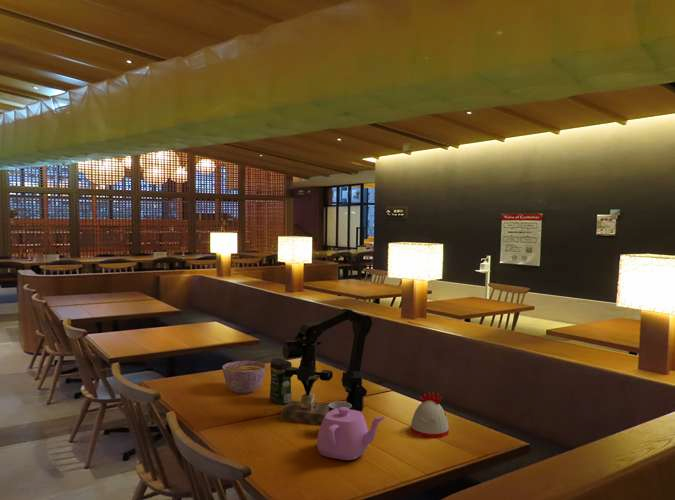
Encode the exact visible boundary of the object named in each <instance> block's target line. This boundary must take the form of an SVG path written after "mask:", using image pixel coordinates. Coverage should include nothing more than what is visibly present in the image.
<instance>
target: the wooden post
mask: <svg viewBox="0 0 675 500" xmlns="http://www.w3.org/2000/svg"><path fill="white" fill-rule="evenodd" d="M315 396H316V395H315V393H310V394H309V395H306V392H304V393H303V394H301V396H300V399H301V401H300V402H301V409H303V410H313V409H314V406H315V405H314V403H315V399H316V398H315Z"/></svg>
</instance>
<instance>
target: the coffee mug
mask: <svg viewBox="0 0 675 500" xmlns="http://www.w3.org/2000/svg"><path fill="white" fill-rule="evenodd" d="M328 404H329V405H328V406H329V412H330V411H331V410H334V409H337V408H340V407H347V408H349V409H350V410H353V406H352V405H351V404H350V403H347V402H346V401H331V402H329V403H328Z"/></svg>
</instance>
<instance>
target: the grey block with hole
mask: <svg viewBox="0 0 675 500" xmlns="http://www.w3.org/2000/svg"><path fill="white" fill-rule="evenodd" d="M329 404H330V403H328V404H327V403H319V402H314V405H315V406H314V409H313V410H303V409H301V401H298V400H291V401H290V402H289V403H287V404H285V406H284V407H282V409H281V410H280V420H281V421H284V422H285V421H286V422H293V423H294V422H295V423H303V424H304V423H305V424H309V425H310V424H312V425H320V426H321V424H322V422H323V419H324V417H325V415H326V414H327V413H328V412H329V406H328V405H329Z"/></svg>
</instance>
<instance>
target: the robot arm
mask: <svg viewBox="0 0 675 500" xmlns="http://www.w3.org/2000/svg"><path fill="white" fill-rule="evenodd" d="M346 321H349V322H351V323H352V325H351V327H352V331H353V339H352V345H351V352H350V358H349V365H348V369H347V370H346V371H343V372H342V377H341V386H342V387H343V389H344V390H345V392H346V393H347V396H346V401H345V402H347V403H350V404H351V405H352V406H353V410H356V411H360V412H362V411H363V410H364V408H365V404H364V398H365V397H366V396H367V393H368V390H367V389H366V388H365V387H364V386H363V377H362V373H361V368H362V361H363V356H364V350H365V344H366V337H367V335H368V334H369V333H370V331H371V329H372V326H373V319H372V317H370V315H366V314H364V313H363V314H362V313H358V312H356V311H354V310H352V309H349V308H343V309H341V310H339V311H337V312H335V313H332V314H331V315H329V316H327V317H324V318H322V319H320V320H317V321H310V322H306V323H303V324H301V326H300V328H299V331H298V333H297V334H296V336H295V337H294V339H293V340H285V341H284V344H283V347H282V349H281V352H282V357H283V359H284V360H289V359H296V358H297V359H298V358H300V357H301V359H300V360H299V361H300V362H299V366H298V367H297V366H296V367H294V366H292V367H288V368H287V369H286V370H285V371H284V377H291V378H292V377H293V376H296V378H297V381H300V382H301V384H302V386H303V389H304V391H305V392H304V393H306V395H309V394H311V391H312V389H313V387H314V384H315V382H317V381H318V380H321V381H325V382H329V381H331V379H333V375H334V373H333V371H332V370H330V369H329V370H328V369H322V370H321V371H317V365H316V364H317V345H322V342H321V341H320V340H319V339H318V338H319V337H321V336H322V335H323V333H324V332H325V331H328V330H329V329H331V328H334V327H335V326H337V325H339V324H341V323H344V322H346Z"/></svg>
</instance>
